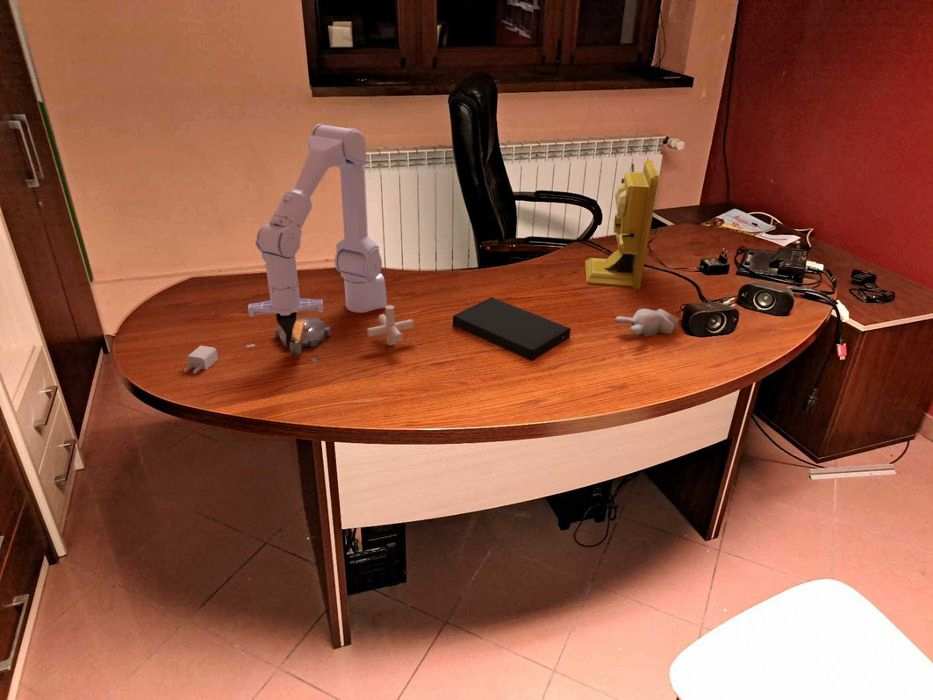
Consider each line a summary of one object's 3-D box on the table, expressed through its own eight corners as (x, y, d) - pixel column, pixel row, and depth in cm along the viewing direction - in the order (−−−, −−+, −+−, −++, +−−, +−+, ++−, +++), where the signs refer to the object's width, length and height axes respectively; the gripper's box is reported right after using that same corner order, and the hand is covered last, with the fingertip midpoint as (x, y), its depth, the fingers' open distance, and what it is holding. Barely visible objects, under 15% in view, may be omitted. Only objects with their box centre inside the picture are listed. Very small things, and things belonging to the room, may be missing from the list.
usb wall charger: (219, 364, 134) (215, 347, 132) (200, 382, 128) (196, 364, 126) (201, 361, 135) (198, 345, 133) (182, 379, 129) (178, 362, 127)
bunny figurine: (689, 318, 149) (640, 324, 142) (683, 338, 151) (635, 345, 144) (660, 301, 156) (613, 307, 149) (655, 321, 158) (608, 327, 151)
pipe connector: (378, 363, 136) (375, 321, 131) (361, 342, 143) (359, 302, 138) (421, 353, 140) (421, 312, 135) (403, 333, 147) (402, 293, 142)
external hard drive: (491, 307, 161) (492, 296, 159) (569, 339, 147) (570, 328, 146) (452, 327, 151) (452, 315, 150) (532, 362, 138) (533, 350, 137)
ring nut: (280, 325, 147) (277, 307, 144) (332, 324, 148) (330, 306, 145) (267, 364, 132) (264, 345, 130) (325, 362, 133) (323, 343, 131)
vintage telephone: (584, 250, 195) (596, 148, 179) (631, 253, 193) (648, 151, 178) (586, 294, 168) (601, 179, 153) (641, 298, 166) (661, 182, 151)
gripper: (243, 294, 124) (253, 355, 131) (320, 289, 127) (326, 350, 133) (246, 279, 130) (255, 338, 137) (320, 275, 133) (325, 334, 139)
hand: (290, 343), depth 135 cm, fingers closed, pressing on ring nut
